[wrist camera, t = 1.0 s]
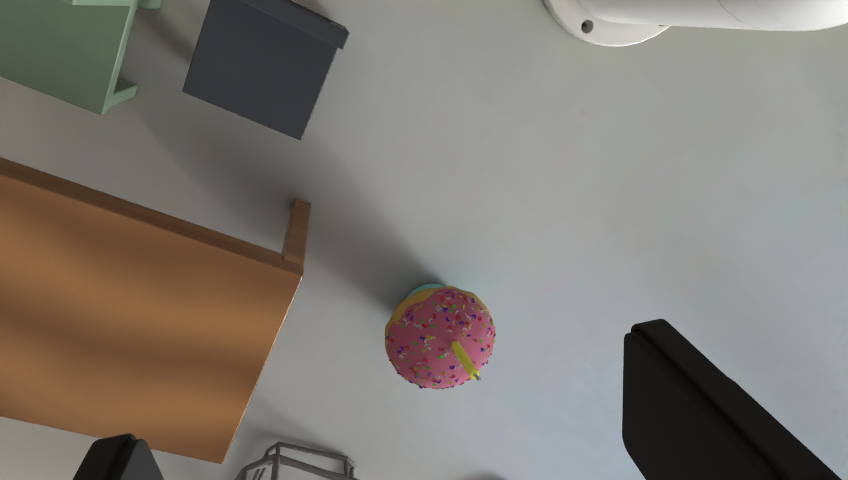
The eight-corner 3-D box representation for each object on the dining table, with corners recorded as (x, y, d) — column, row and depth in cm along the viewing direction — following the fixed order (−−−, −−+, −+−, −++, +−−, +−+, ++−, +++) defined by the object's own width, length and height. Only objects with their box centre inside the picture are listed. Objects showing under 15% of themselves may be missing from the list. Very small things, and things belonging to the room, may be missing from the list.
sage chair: (41, -64, 31) (-130, -106, 20) (166, -6, 33) (77, -14, 22) (17, 52, 33) (-152, 75, 22) (135, 99, 35) (40, 143, 24)
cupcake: (411, 247, 43) (439, 328, 32) (499, 286, 46) (551, 374, 35) (362, 331, 45) (372, 434, 34) (448, 364, 48) (482, 469, 37)
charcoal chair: (238, -27, 34) (189, -46, 22) (343, 24, 36) (349, 32, 24) (204, 79, 36) (142, 113, 24) (305, 122, 38) (293, 173, 26)
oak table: (-26, 76, 34) (-197, 108, 23) (311, 203, 40) (303, 275, 29) (-62, 265, 38) (-221, 369, 27) (249, 352, 44) (222, 464, 33)
